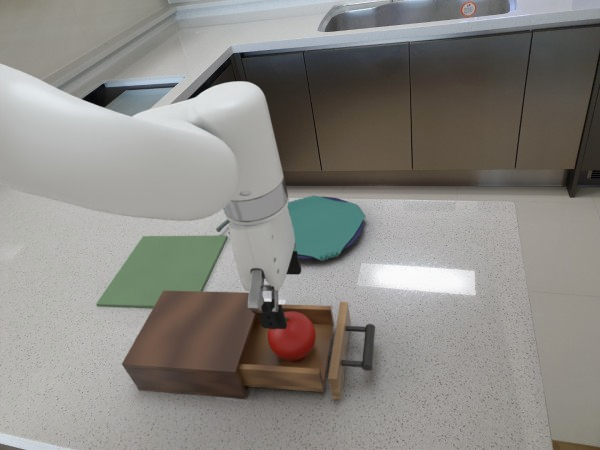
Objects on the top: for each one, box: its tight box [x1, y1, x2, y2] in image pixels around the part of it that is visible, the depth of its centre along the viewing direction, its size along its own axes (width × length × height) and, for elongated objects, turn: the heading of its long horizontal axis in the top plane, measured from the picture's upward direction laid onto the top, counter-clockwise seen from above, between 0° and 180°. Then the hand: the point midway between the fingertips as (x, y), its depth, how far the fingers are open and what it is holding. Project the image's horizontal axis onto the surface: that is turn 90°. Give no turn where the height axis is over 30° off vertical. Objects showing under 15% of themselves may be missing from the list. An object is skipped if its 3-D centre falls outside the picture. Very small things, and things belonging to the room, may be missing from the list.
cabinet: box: [121, 290, 265, 400], centre depth 72 cm, size 18×15×7 cm
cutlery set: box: [215, 195, 367, 262], centre depth 95 cm, size 20×30×2 cm, turn 59°
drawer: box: [238, 301, 376, 400], centre depth 68 cm, size 21×13×5 cm, turn 79°
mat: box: [95, 235, 228, 309], centre depth 92 cm, size 20×20×1 cm
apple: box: [268, 311, 316, 362], centre depth 67 cm, size 7×7×8 cm
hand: (283, 298), depth 62 cm, fingers open, 9 cm apart
